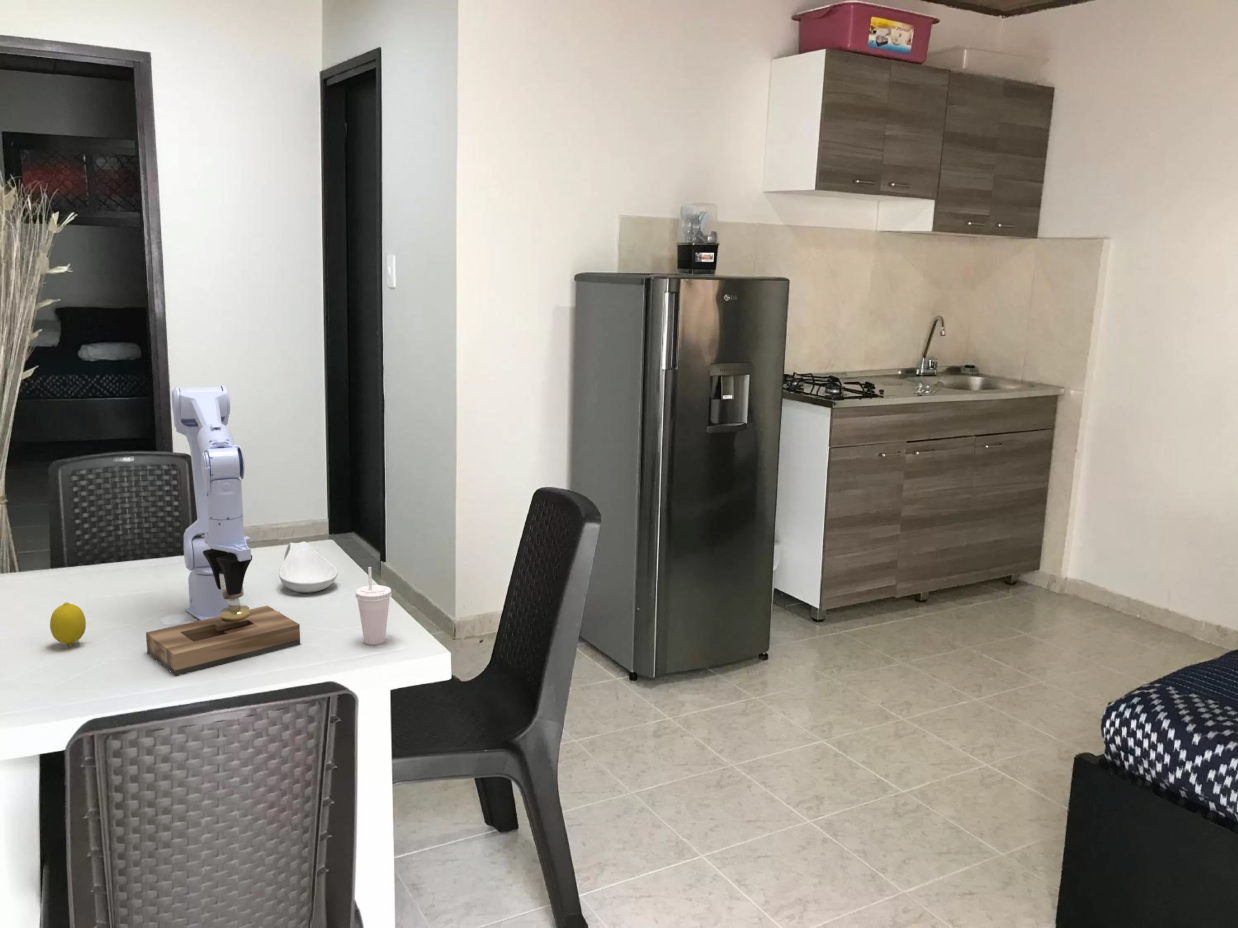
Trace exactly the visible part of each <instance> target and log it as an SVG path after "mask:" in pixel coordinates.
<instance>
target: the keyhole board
mask: <svg viewBox="0 0 1238 928" xmlns="http://www.w3.org/2000/svg"><path fill="white" fill-rule="evenodd" d="M249 612H250V616H249V617H248V618H246V619H244V620H241V621H236V622H225V621H222V620H221V616H218V617H213V618H209V619H204V620H196V621H192V622H187V623H182V624H178V625H174V626H168V627H164V628H160V629H156V630H151V631H147V632H145V639H146V651H147V652H146V653H147V654H148V655H149V656H150V655H151V656H150V657H151V658H153V657H154V658H155V659H156V660H157V663H159V662H160V663H161V664H162V665H161V664H160V663H159V664H160V665H161V666H163V667H164V668H165V667H166V668H167V669H166V668H165V669H166V670H167V671H169V670H170V671H171V672H172V673H173V674H172V673H171V672H170V671H169V672H170V673H171V674H172V675H173V676H175V675H178V676H180V675H179V674H182V675H184V674H185V673H186V674H189V672H190V673H193V672H197V671H200V670H204V669H209V668H212V667H217V666H219V665H220V666H221V665H225V664H228V663H232V662H236V661H239V660H244V659H247V658H251V657H252V658H253V657H255V656H260V655H265V654H268V653H272V652H275V651H280V650H283V649H286V648H291V647H296V646H299V645H301V631H300V630H301V628H300V627H301V626H300V623H298V622H296V621H295V620H293V619H291V618H290V617H288V616H286V615H285V614H283V613H282V612H279V611H277V610H276V609H274V608H273V607H270V606H269V605H264V606H259V607H256V608H249ZM154 658H153V659H154ZM155 659H154V660H155ZM156 660H155V661H156ZM186 674H185V675H186Z"/></svg>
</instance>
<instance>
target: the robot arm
mask: <svg viewBox="0 0 1238 928" xmlns="http://www.w3.org/2000/svg"><path fill="white" fill-rule="evenodd" d="M171 407H172V414H173V415H172V416H173V424H174V428H175V432H176V433H178V434H180V435H184V436H185V437H186V440H187V443H188V446H189V449H190V460H191V469H192V478H193V489H194V498H195V508H196V520H195V521H194V522H193V523H192V524H190V525H189V526H188V527H187V528H186V529H185V530H184V533H183V557H184V564H185V568H186V569H187V570H188V571H190V572H189V575H188V578H187V581H188V583H187V584H188V598H189V601H188V602H189V606H185V608H184V611H186V612H188V613H189V614H191V616H193V617H195V618H197V619H198V621H200V620H204V619H209V618H213V617H218V616H221V614H220V612H221V610H223V609H225V608H227V607H228V601H227V599H223V598H222V592H221V584H220V576H219V573H220V572H221V571H222V572H223V575H224V579H225V585H226V590H227V593H228V595H235V594H240V593H241V591H242V586H244V579H245V576H246V573H247V570H248V568H249V566H250V564H251V562H252V561H253V555H252V551H251V548H250V547H249V546H248V543H249V542H251V541H252V540H251V539H252V537H249V536H247V535H245V533H244V532H245V530H244V527H245V525H244V510H243V508H244V507H243V490H242V489H243V488H242V480H244V477H245V469H246V467H245V465H246V464H245V459H244V458H245V457H244V453H243V450H242V447H241V445H238V444H235V442H234V439H233V435H232V432H231V429H229V427H228V426H227V425H228V423H229V417H230V413H231V399H230V393H229V389H228V388H227V387H226V386H225V385H223V384H222V385H221V386H195V387H194V386H193V387H192V386H191V387H178V386H176V387H175V386H174V388H173V389H172V390H171ZM198 536H199V537H198Z"/></svg>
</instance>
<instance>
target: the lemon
mask: <svg viewBox="0 0 1238 928" xmlns="http://www.w3.org/2000/svg"><path fill="white" fill-rule="evenodd" d="M49 621H50V622H49V628H50V632H51V635H52V637H53V638H54V640H56V641H57V642H59V643H62V644H65V645H66V646H68V645H71V646H73V644H74V643H76V642H78V641H79V640H80V639H81V638H82V637H83V636H84V634H85V631H86V627H87V622H86V621H87V619H86V616H85V614H84V612H83V610H82V608H80V607H79V606H78V605H76V604H73V603H69V602H68V601H67V602H66V601H65V602H64V603H63V604H61V605H59V606H58V607H56V608H55V609H54V610H53V612H52V613H51V617H50V620H49Z"/></svg>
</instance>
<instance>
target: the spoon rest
mask: <svg viewBox="0 0 1238 928" xmlns="http://www.w3.org/2000/svg"><path fill="white" fill-rule="evenodd" d="M338 574H339V573H338V569H337V567H336V566H335V565H334V564H333V563H331V562H330V561H328V560H327V559H326V558H325V557H324V556H323V555H322V554H320V553H319V552H318V551H317V550H316V549H314V547H312V546H311V545H310V544H309V543H308V542H307V541H301V542H289V543H288V545H287V547H286V550H285V553H284V558H283V562H282V564H281V566H280V568H279V572H278V577H279V579H280V581H281V583H282V584H283V585H284V587H286V588H288V589H289V590H292V591H294V592H296V593H300V594H301V593H302V594H309V593H316V592H320V591H322V590H325V589H327V588H328V587H330V586H331V585H332V584H333V583H334V582H335V580H336V579H337V576H338Z"/></svg>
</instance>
